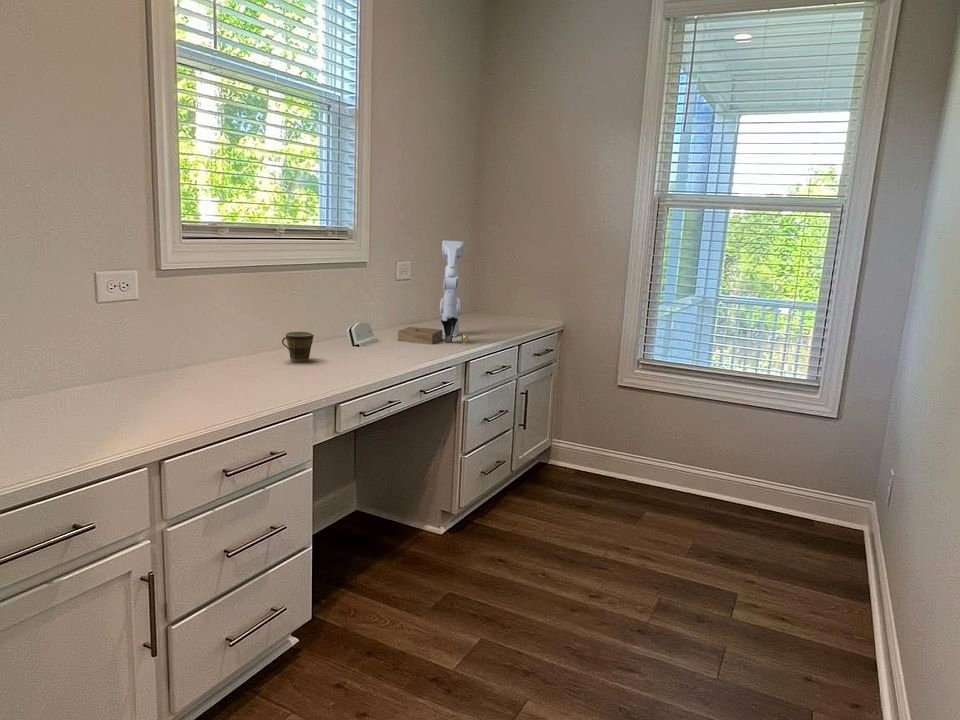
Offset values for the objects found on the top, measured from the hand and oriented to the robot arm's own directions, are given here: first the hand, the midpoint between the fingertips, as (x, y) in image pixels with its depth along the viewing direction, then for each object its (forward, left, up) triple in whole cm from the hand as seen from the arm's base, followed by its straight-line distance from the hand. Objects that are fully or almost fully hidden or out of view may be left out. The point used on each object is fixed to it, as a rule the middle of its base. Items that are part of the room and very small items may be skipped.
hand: (448, 335), depth 306 cm
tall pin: (0, 0, -3) cm, 3 cm away
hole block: (+1, -13, -3) cm, 13 cm away
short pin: (-2, +7, -3) cm, 8 cm away
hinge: (+21, -32, -4) cm, 39 cm away
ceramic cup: (+66, -37, -4) cm, 76 cm away
